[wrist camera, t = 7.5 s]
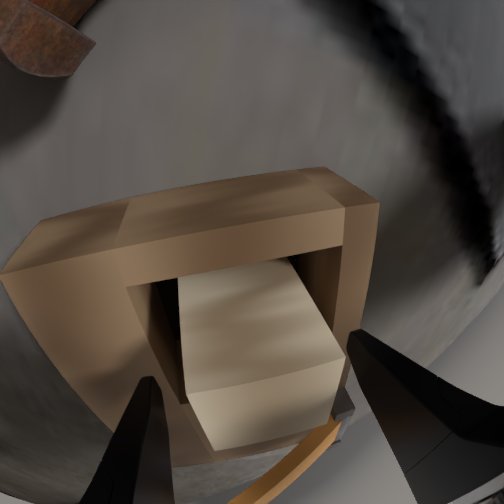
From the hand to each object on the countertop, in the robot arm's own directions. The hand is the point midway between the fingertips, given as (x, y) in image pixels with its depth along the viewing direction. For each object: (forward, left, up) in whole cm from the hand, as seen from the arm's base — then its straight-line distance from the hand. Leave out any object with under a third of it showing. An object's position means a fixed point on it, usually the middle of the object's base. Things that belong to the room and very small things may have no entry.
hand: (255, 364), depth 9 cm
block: (+2, +4, -5) cm, 6 cm away
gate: (0, +8, +2) cm, 8 cm away
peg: (0, 0, -5) cm, 5 cm away
